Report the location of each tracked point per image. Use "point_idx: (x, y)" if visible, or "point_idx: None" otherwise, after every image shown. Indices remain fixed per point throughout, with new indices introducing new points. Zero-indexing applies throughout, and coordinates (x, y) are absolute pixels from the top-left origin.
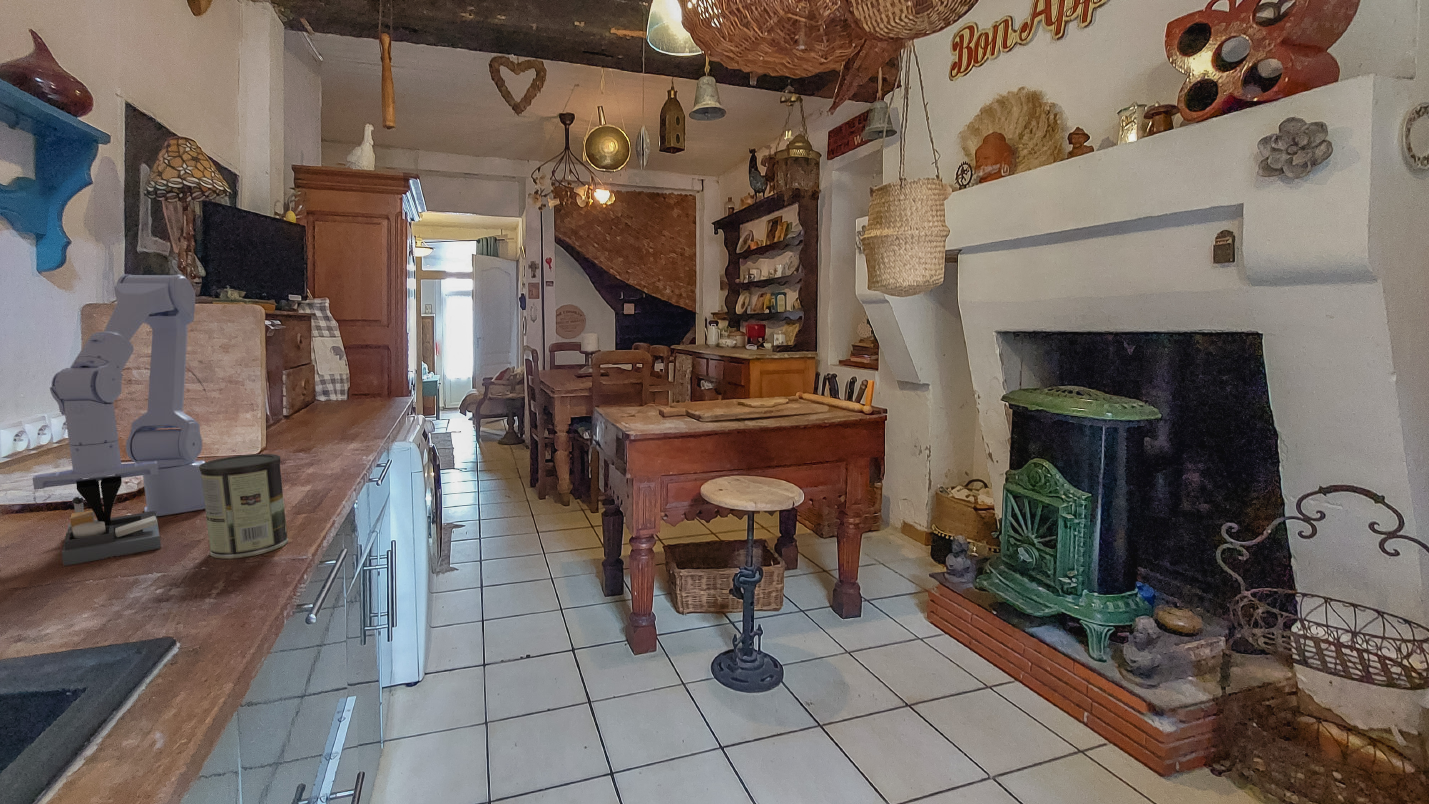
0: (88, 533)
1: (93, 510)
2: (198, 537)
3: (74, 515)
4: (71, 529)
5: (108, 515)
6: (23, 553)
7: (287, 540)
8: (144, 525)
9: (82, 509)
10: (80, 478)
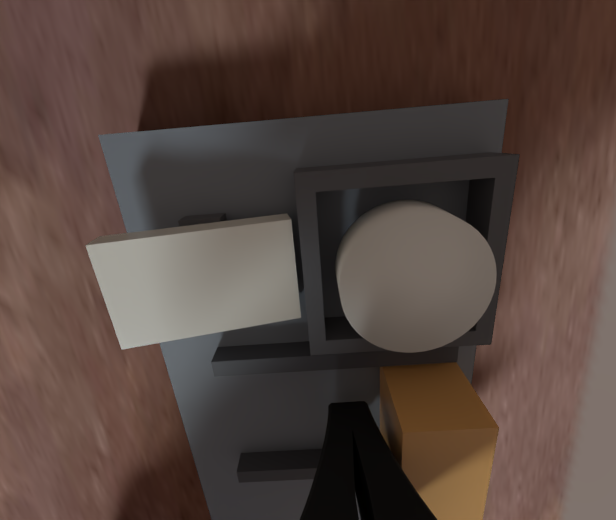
0: (410, 205)
1: (402, 472)
2: (25, 218)
3: (474, 486)
4: None
5: (333, 438)
6: (558, 383)
7: None
8: (155, 234)
9: None
10: None
